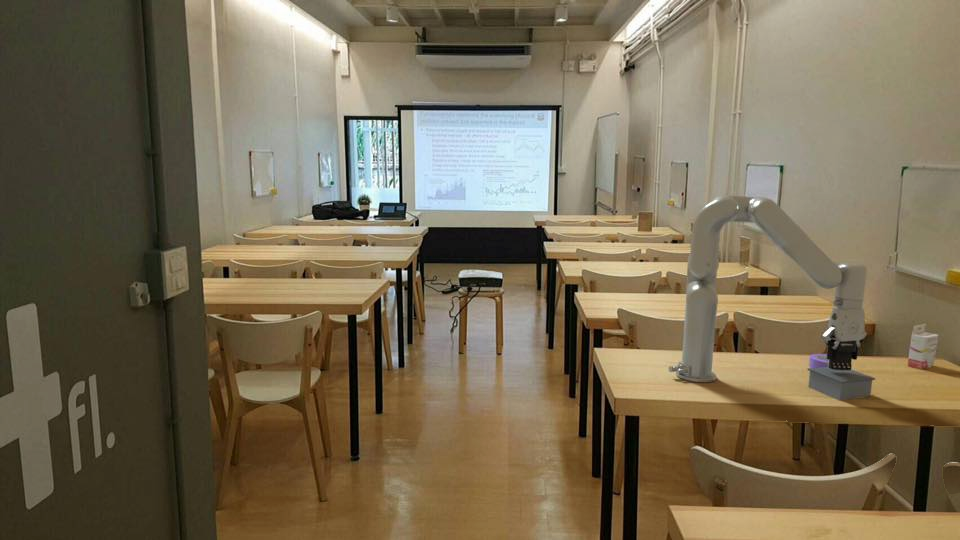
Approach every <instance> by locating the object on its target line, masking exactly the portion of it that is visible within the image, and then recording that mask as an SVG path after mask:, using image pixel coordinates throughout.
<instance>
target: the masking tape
mask: <svg viewBox="0 0 960 540" xmlns="http://www.w3.org/2000/svg"><path fill="white" fill-rule="evenodd" d="M827 363H828V359H827V353H814V354H813V353H812V354H810V355H809V361H808V367H809V368H818V367H827Z"/></svg>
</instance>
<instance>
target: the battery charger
mask: <svg viewBox="0 0 960 540" xmlns="http://www.w3.org/2000/svg"><path fill="white" fill-rule="evenodd" d="M834 338H835V336H834ZM834 342H835V340H833V343H834ZM856 342H857V341H847V342H841V341H840V342H839V344H838V346H837V348H836V349H838V354H837V361H835V362H834V361H831V360H828V363H827V367H828V368H830V369H833V370H852V369H853V367H852V361H853V359H852V355H853V352H855V351H856Z"/></svg>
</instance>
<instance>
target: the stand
mask: <svg viewBox="0 0 960 540" xmlns="http://www.w3.org/2000/svg"><path fill="white" fill-rule="evenodd" d="M807 371H809V377H808V388H810V389H813V390H814V391H817V392H819V393H820V394H824V395H826V396H829V397H831V398H833V399H836V400H837V401H844V400H852V399H851V398H854V399H861V398H860V397H863V398H869V397H868V396H870V397H871V394H872V386H873V385H872V384H873V381H876V377H873V376H870V375H869V374H865V373H862V372H861V371H860V372H859V371H857V370H854V369H851V370H833V369H830V368H828V367H818V368H810V367H809V368H807Z"/></svg>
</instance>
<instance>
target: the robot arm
mask: <svg viewBox="0 0 960 540" xmlns="http://www.w3.org/2000/svg"><path fill="white" fill-rule="evenodd" d="M731 222H737V223H749V224H750V223H751V224H752V223H754V224H755V226H757V228H759V229H760V230H761V232H763V233H764V234H765V235H766V236H767V238H769V240H771V242H772V243H773V244H774V245H775V246H776V247H777V248H778V249H780V251H781V252H782V253H783V254H784V255H786V256H787V257H789V258H790V259H791V260H792V261H793V262H795V264H797V265H798V266H799V267H800V268H801V269H802V270H803V271H804V272H805V273H806V275H808V276H809V278H810V280H811V281H812V282H813V283H815V284H816V285H817V286H819V287H820V288H822V289H826V290H827V289H828V290H830V289H833V288H835V294H834V300H833V307H832V309H831V313H830V316H829V320H828V325H827V326H828V327H827V330H826V331H825V332H824V333H823V334H822V336H821V338H822V339H823V341H824V344H825V345H826V347H827V353H826V354H827V359H828V360H831V361H834V362H835V361H837V354H838V349H836V348H837V346H838V344H839V342H840V341H841V342H847V341H857V342H856V351H855V352H853V355H852V360H855V361H856V360H857V359H858V353H859V348H860V347H861V344H862V342H864V339H865V337H866V336H867V335H868V334H867V332H866V331H865V327H866V316H865V309H864V308H863V305H864V304H863V303H864V297H865V288H866V279H867V271H868V269H867V266H866V265H865V264H863V263H862V264H861V263H857V262H839V261H838V262H836V261H832V259H831V258H830V257H829V256H828V255H827V254H826V253H825V252H824V251H823V250H822V249H821V248H820V247H819V246H818V245H817V244H816V243H815V242H814V241H813V240H812V239H811V238H810V237H809V236H808V234H807V233H806V232H805V231H804V230H803V229H802V228H801V227H800V225H798V224H797V223H796V222H795V221H794V220H793V219H792V218H791V217H790V216H789V215H788V214H787V213H786V212H785V211H784V210H783V209H782V208H781V207H780V205H778V204H777V203H776V202H775V201H774V200H772V199H771V198H768V197H764V196H743V195H739V196H738V195H729V194H726V195H725V194H724V195H718V196H716V197H715V198H713V200H712V201H711V202H710V203H708V204H706V205H705V206H704V207H702V209H701V210H700V211H699V212H698V214H697V215H696V217H695V219H694V221H693V225H692V232H691V241H690V252H689V255H688V257H687V266H686V267H687V270H686V284H685V285H686V286H685V287H686V289H685V290H686V291H685V293H686V294H685V311H684V312H685V313H684V323H683V324H684V325H683V341H682V343H683V344H682V355H681V361H679V362H678V364H677V365H670V366H668V372H670V373H675V374H676V376H677V377H679V378H680V379H682V380H685V381H688V382H695V383H712V382H715V380H717V374H716V373H715V372H713V358H714V347H715V331H716V320H717V319H716V318H717V311H718V304H719V302H718V301H719V296H718V292H717V277H718V276H717V275H718V270H719V264H720V260H719V247H720V241H721V239H720V237H721V236H720V235H721V231H722V229H723V227H724V226H725V225H726V224H728V223H731ZM834 336H835V338H834ZM833 340H835V342H834V343H833Z"/></svg>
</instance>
